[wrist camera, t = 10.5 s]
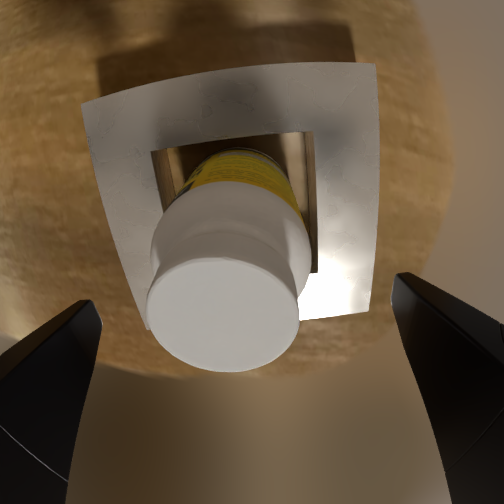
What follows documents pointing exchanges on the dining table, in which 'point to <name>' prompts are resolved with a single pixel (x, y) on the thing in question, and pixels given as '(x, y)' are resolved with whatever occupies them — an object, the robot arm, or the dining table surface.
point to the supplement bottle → (229, 264)
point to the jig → (242, 125)
